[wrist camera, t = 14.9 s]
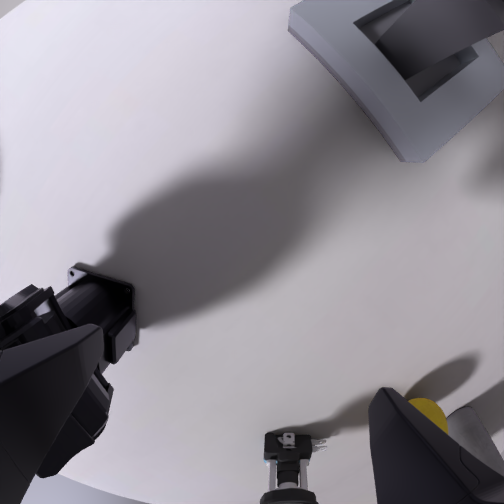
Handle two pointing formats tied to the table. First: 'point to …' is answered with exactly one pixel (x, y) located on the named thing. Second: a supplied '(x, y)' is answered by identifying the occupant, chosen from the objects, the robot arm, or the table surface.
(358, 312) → the table surface
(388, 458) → the robot arm
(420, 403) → the lemon
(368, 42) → the socket box
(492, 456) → the flask
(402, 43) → the plug
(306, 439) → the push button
